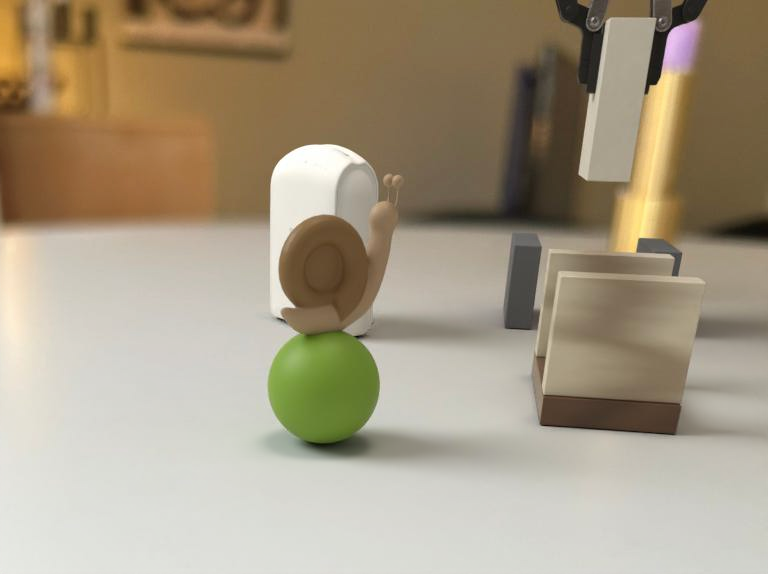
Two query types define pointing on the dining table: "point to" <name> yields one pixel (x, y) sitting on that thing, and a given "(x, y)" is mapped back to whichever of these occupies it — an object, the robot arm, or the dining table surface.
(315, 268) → the snail figurine
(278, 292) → the white rounded block
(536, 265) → the grey bookends
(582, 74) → the robot arm
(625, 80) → the white book
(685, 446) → the dining table surface
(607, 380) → the wooden card holder
